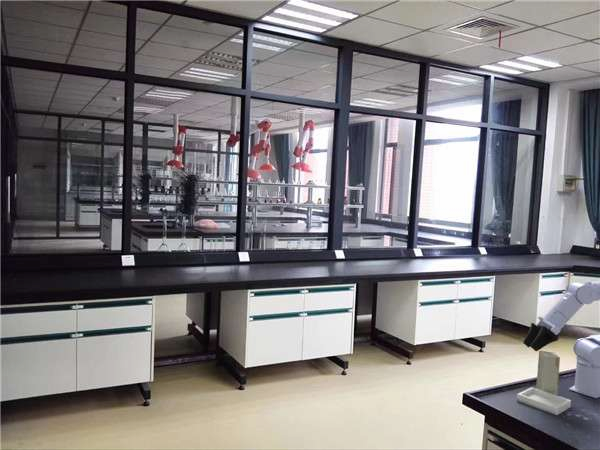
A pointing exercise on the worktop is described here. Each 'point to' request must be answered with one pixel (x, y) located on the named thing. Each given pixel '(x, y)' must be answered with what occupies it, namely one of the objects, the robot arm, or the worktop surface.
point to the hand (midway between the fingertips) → (529, 347)
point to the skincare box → (548, 372)
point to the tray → (544, 400)
